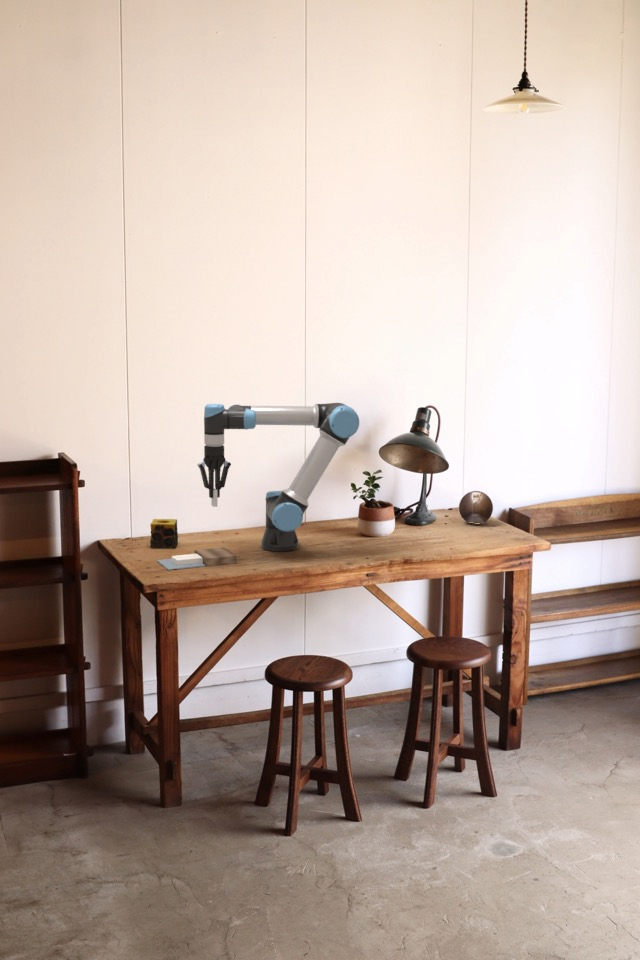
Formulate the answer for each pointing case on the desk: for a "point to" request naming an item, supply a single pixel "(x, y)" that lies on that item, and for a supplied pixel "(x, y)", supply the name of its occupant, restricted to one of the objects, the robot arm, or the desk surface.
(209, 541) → the desk surface
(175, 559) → the tile
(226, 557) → the deck
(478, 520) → the bronze metallic ball
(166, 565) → the mat
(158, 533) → the candle
